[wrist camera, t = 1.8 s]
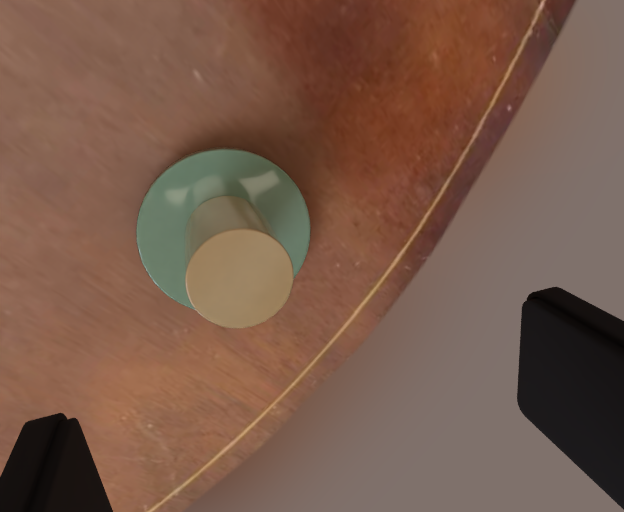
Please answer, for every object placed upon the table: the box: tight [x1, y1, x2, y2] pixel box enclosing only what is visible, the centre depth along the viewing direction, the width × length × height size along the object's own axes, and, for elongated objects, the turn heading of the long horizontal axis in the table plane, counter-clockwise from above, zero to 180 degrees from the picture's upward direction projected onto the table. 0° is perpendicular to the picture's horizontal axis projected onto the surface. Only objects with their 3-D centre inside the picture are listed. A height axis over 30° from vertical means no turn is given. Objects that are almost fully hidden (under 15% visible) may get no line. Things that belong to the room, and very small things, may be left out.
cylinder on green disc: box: [136, 147, 311, 328], centre depth 20 cm, size 8×8×7 cm
